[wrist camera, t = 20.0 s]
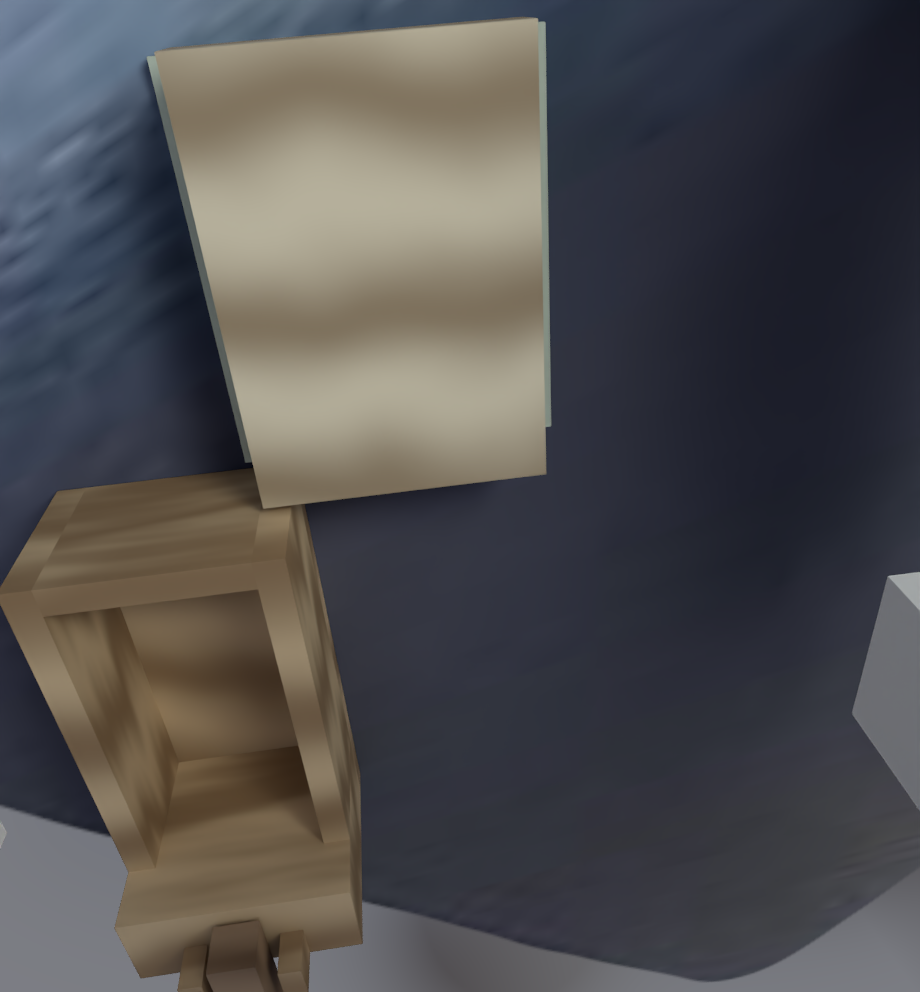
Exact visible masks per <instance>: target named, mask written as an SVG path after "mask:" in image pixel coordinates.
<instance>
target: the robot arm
mask: <svg viewBox="0 0 920 992" xmlns="http://www.w3.org/2000/svg"><path fill="white" fill-rule="evenodd" d="M852 715H853V716H854V718H855V719H856V720H857V722H858V723H859V725H860V726H861V728H862V729H863V730H864V732H865V733H866V735H867V736H868V738H869V739H870V740H871V742H872V743H873V745H874V746H875V748H876V749H877V750H878V752H879V753H880V755H881V756H882V758H883V759H884V760H885V762H886V763H887V765H888V766H889V768H890V769H891V770H892V772H893V773H894V775H895V776H896V778H897V779H898V781H899V782H900V783H901V785H902V786H903V788H904V789H905V791H906V792H907V793H908V795H909V796H910V798H911V799H912V801H913V802H914V803H915V805H916V806H917V808H918V809H919V811H920V572H916V573H908V574H900V575H893V576H888V577H887V581H886V585H885V589H884V592H883V596H882V600H881V604H880V608H879V612H878V615H877V619H876V623H875V627H874V631H873V635H872V638H871V642H870V646H869V650H868V654H867V658H866V661H865V665H864V669H863V673H862V677H861V680H860V684H859V688H858V692H857V696H856V700H855V703H854V707H853V711H852ZM6 834H7V832H6V830H5V828H4V826H3V825H2V823H1V821H0V849H1V846H2V844H3V841H4V839H5V836H6Z"/></svg>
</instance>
